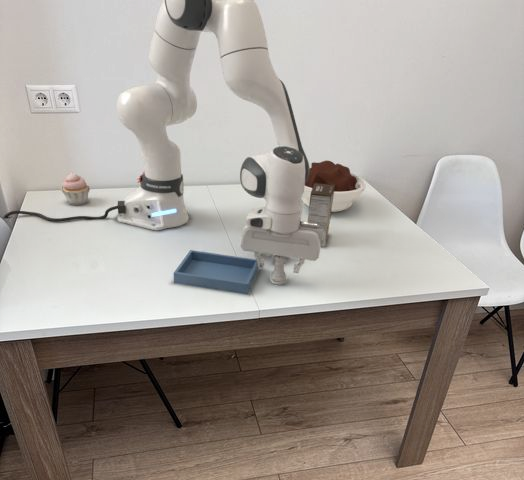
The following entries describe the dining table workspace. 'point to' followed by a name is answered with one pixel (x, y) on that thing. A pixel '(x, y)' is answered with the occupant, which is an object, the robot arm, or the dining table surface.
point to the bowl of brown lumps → (337, 175)
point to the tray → (217, 272)
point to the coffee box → (321, 207)
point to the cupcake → (75, 189)
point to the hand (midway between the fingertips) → (278, 269)
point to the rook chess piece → (278, 271)
